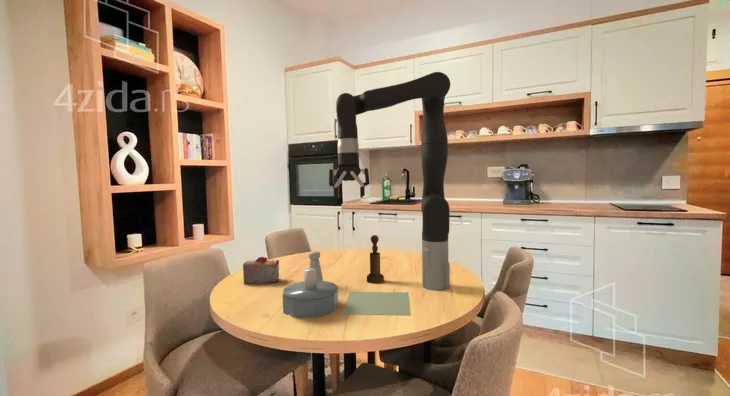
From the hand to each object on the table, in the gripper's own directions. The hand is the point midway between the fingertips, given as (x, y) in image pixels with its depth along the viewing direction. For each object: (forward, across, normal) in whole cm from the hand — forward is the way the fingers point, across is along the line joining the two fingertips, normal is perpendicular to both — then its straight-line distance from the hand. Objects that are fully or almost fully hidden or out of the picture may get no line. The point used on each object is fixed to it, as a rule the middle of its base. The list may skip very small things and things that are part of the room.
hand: (349, 197), depth 123 cm
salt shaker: (+33, -14, +2) cm, 36 cm away
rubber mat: (+33, +10, -15) cm, 37 cm away
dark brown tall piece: (+33, +8, +8) cm, 35 cm away
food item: (+33, -37, +7) cm, 50 cm away
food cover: (+33, -10, -20) cm, 40 cm away
